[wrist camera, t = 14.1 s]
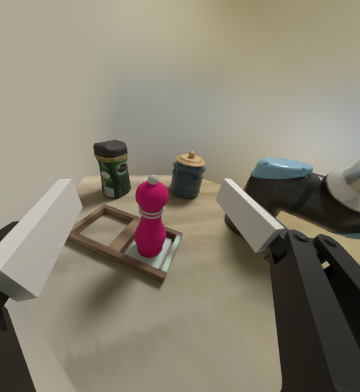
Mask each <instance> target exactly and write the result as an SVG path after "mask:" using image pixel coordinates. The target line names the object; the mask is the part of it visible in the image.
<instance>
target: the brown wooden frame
mask: <svg viewBox="0 0 360 392" xmlns="http://www.w3.org/2000/svg"><path fill="white" fill-rule="evenodd" d="M104 213H108V214H111V215H113V216H116V217H119V218H121V219H124V220H126V221H129V222H131V223H130V224H129V225H128V226H127V227H126V228H125V229H124V230H123V231H122V232H121V233H120V234H119V235H118V236H117V238H116V239H115V240H114V241H113V242H112V243H111V244H110V245H109V246H108V247H107V246H105V245H103V244H100V243H98V242H96V241H94V240H91V239H89V238H87V237H84V236H82V235H80V234H78V233H80V232H81V231H82V230H84V229H85V228H86V227H87V226H89V225H90V224H91V223H93V222H94V221H95V220H97V219H98V218H99V217H100V216H102V215H103V214H104ZM140 221H141V218H140V217H138V216H135V215H132V214H129V213H127V212H124V211H121V210H119V209H116V208H113V207H110V206H108V205H105V204H104V205H102V206H101V207H100V208H98V209H97V210H95V211H94V212H92V213H91V214H90V215H88V216H87V217H85V218H84V219H82V220H81V221H80V222H78V223H77V224H75V225H74V226H73V228H72V230H71V232H70V234H69V236H68V238H67V239H68V240H70V241H73V242H75V243H77V244H79V245H82V246H84V247H86V248H88V249H90V250H93V251H95V252H97V253H99V254H101V255H104V256H106V257H108V258H110V259H112V260H115V261H117V262H119V263H121V264H123V265H126V266H128V267H130V268H132V269H134V270H137V271H139V272H141V273H143V274H145V275H148V276H150V277H152V278H154V279H157V280H159V281H161V282H164V280H165V277H166V275H167V272H168V270H169V267H170V265H171V262H172V260H173V257H174V255H175V252H176V250H177V247H178V245H179V242H180V240H181V237H182V233H181V232H178V231H176V230H173V229H170V228H167V227H165V226H164V227H165V230H166V236H168V237H171V238H174V239H175V241H174V243H173V245H172V247H171V249H170V252H169V254H168V256H167V258H166V261H165V263H164V265H163V267H162V270H160V269H158V268H155V267H153V266H151V265H149V264H146V263H144V262H142V261H139V260H137V259H135V258H133V257H130V256H128V255H126V254H123V252H124V251H125V250H126V249H127V247H128V246H129V245H130V243H131V242H132V241H133V240H134V238H135V231H136V228H137V226H138V225H139V223H140Z"/></svg>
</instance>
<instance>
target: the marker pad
mask: <svg viewBox="0 0 360 392" xmlns="http://www.w3.org/2000/svg"><path fill="white" fill-rule="evenodd" d="M171 241H172V239H170V238H167V237H166V240H165V242H164V244H163V248H162V251H161V252H160V253H159V254H158V255H157V256H155V257H152V258H146V257H143V256H141V255H140V254H139V252H138V250H137V244H136V242H135V241H134V243H133V244H132V245H131V247H130V248H129V249H128V251H127V252H126V253H125V254H126V255H128V256H130V257H133V258H135V259H137V260H139V261H142V262H144V263H146V264H149V265H151V266H153V267H155V268H159V266H160V264H161V262H162V260H163V258H164V256H165V254H166V251H167V249H168V247H169V245H170V243H171Z"/></svg>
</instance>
